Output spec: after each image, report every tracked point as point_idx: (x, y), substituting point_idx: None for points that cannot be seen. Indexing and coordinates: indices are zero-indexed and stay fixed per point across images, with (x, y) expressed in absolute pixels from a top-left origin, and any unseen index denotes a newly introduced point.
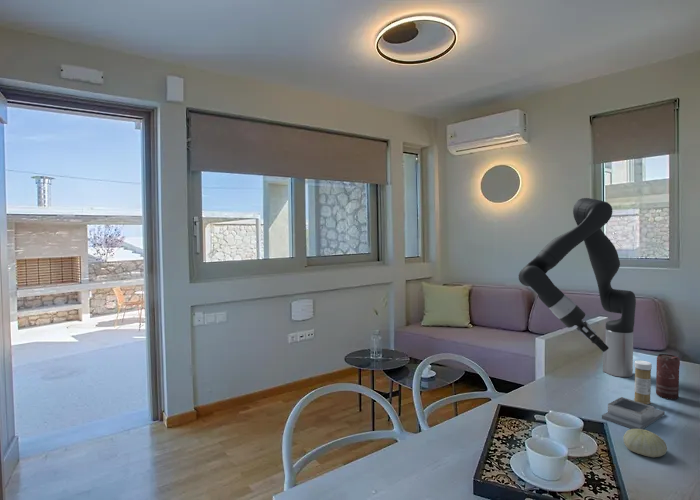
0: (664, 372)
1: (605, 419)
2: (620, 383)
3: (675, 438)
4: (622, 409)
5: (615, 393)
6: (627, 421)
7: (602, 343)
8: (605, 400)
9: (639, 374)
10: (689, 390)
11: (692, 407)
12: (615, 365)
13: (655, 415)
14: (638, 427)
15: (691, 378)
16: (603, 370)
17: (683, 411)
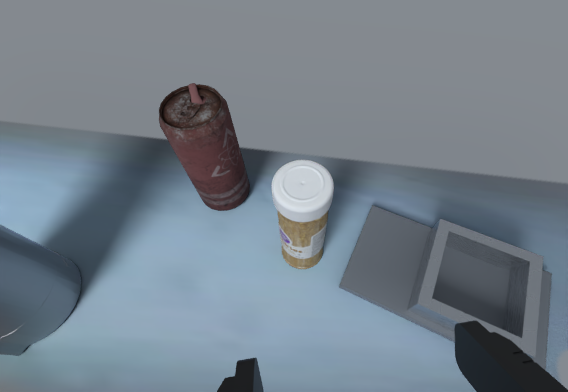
0: (233, 152)
1: None
2: (148, 298)
3: (513, 205)
4: (537, 308)
5: (258, 321)
6: None
7: (547, 374)
8: (348, 359)
9: (325, 219)
10: (161, 146)
11: (281, 154)
12: (41, 302)
13: (418, 227)
14: (550, 275)
15: (68, 133)
16: (18, 352)
17: None
